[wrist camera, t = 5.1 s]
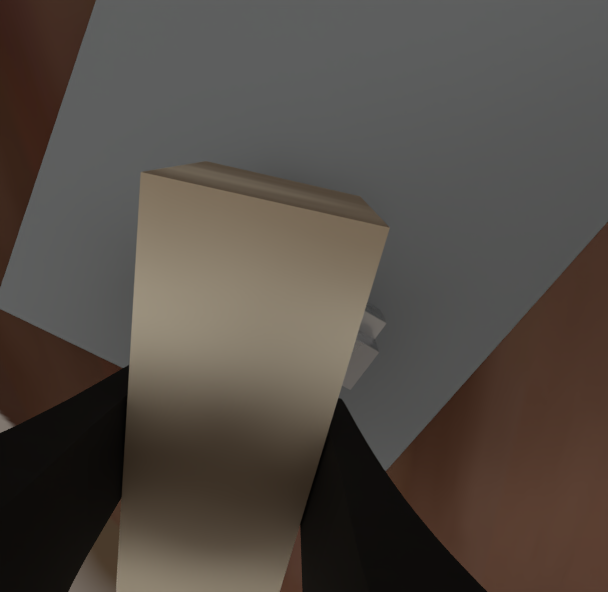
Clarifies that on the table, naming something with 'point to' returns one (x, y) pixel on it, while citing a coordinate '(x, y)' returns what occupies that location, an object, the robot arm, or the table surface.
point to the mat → (337, 163)
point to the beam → (234, 369)
